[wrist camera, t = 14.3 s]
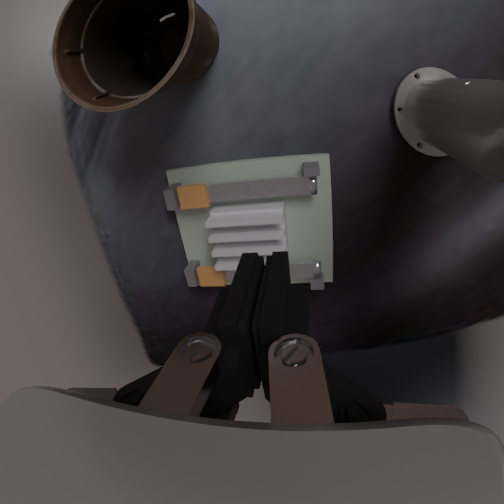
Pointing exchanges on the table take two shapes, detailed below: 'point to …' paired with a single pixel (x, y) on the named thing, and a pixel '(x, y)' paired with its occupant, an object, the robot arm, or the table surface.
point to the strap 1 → (245, 190)
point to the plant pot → (130, 49)
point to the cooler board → (256, 217)
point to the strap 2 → (219, 278)
